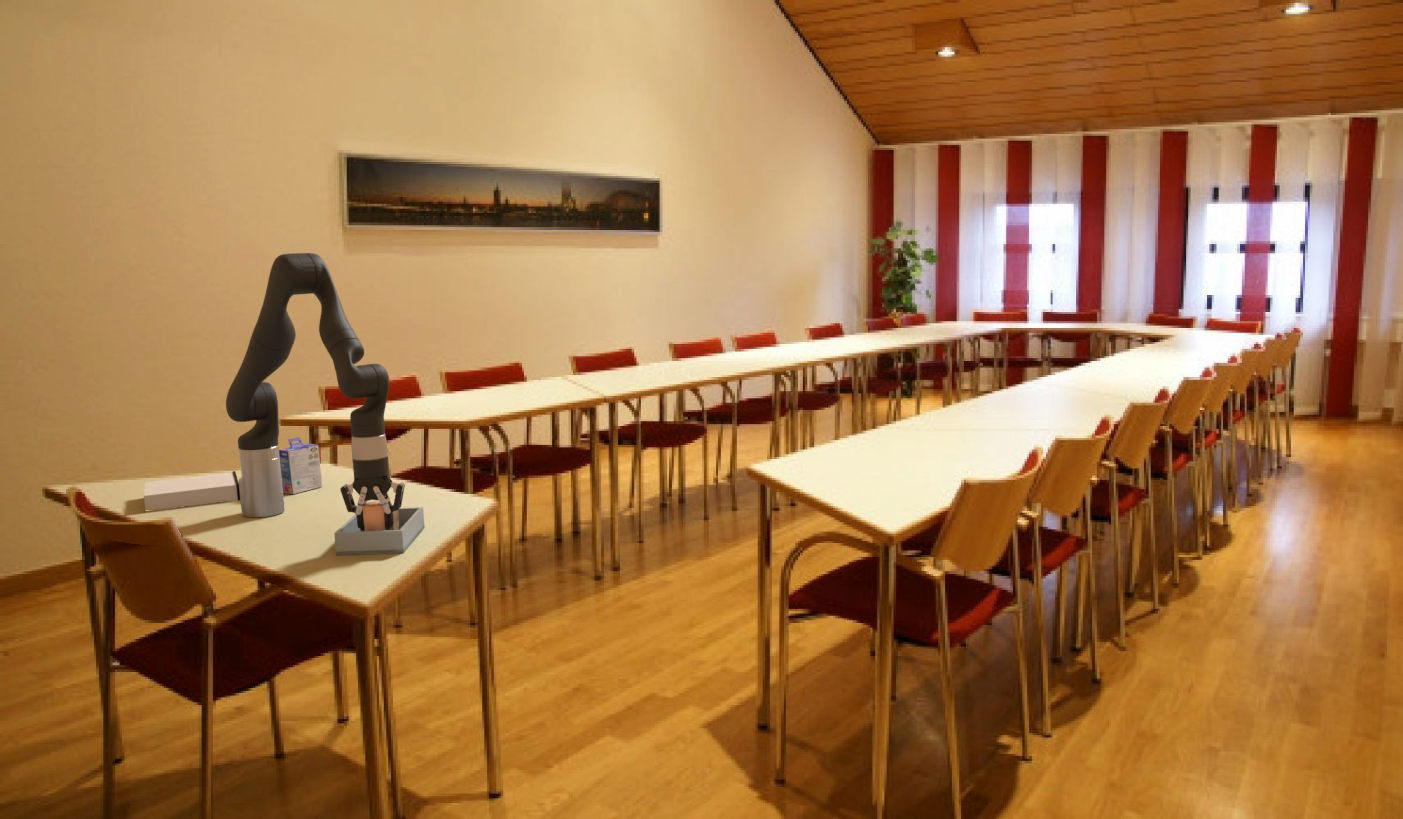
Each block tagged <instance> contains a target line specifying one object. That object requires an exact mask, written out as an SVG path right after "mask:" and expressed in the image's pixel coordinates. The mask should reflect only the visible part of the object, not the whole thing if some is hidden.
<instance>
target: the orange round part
mask: <svg viewBox="0 0 1403 819" xmlns="http://www.w3.org/2000/svg"><path fill="white" fill-rule="evenodd" d="M362 507H363V508H362V510H363V522H364V531H384V530H386V527H385V515H384V514H386V512H385V510H384V508H383V506H382V505H381V504H380V501H379V500H373V501H367V503H366V504H364V505H363V506H362Z"/></svg>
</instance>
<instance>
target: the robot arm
mask: <svg viewBox="0 0 1403 819" xmlns="http://www.w3.org/2000/svg"><path fill="white" fill-rule="evenodd" d="M330 272H331V271H330V270H329V268H328V265H327V264H326V262H325V260H324V259H323V258H322V257H321V255H319V254H317V253H312V252H298V253H283V254H280V255H278V256H277V257H276V258H275V259H274V260H273V263H272V265H271V269H270V272H269V276H268V280H267V285H266V290H265V294H264V299H263V301H262V302H263V303H262V306H261V308H260V312H259V314H258V318H257V321H256V323H255V326H254V327H253V331H252V334H251V336H250V340H249V342H248V345H247V349H246V352H245V354H244V357H243V360H242V363H241V364H240V367H239V369H238V371H237V374H236V375H235V377H234V379H233V380H232V383H231V385H230V386H229V388H228V391H227V394H226V398H225V409H226V413H227V415H228V417H229V418H230V419H231V421H234V422H238V423H246V422H253V421H254V422H255V424H254V425H253V427H252V428H251V429H249V430H247V431H246V432H245V433H242V434H241V435H240V436H239V437H238V438H237V448H238V454H239V467H240V474H241V478H239V479H238V483H239V491H240V500H239V501H240V509H241V516H242V517H249V518H267V517H272V516H277V515H280V514H282V513H284V512H285V500H284V493H283V487H282V477H281V467H280V456H279V450H280V448H279V447H280V446H279V435H280V423H279V402H278V396H277V391H276V389H275V388H274V386H273V385H272V384H271V383H269V382H266V381H265V380H266V379H267V378H268V377H270V376H271V375H272V374H273V373H275V372H276V371H277V370H278V369H279V368H280V367H281V366H283V364H284V363H286V361H287V359H289V355H290V354H291V351H292V349H293V346H294V344H295V341H296V338H297V337H296V336H297V335H296V330H295V325H294V322H293V321H292V319H291V317H290V315H289V314H288V310H287V308H288V304H289V301H290V299H291V298H292V297H293V296H297V295H310V294H313V295H314V296H315V298H317V299H318V301H319V303H320V307H321V309H320V311H321V312H320V318H319V324H318V332H319V336H320V339H321V342H322V344H323V346H324V347H325V349H326V351H327V352H328V355H329V357H330V358H331V359H332V363H333V366H334V370H335V374H336V380H337V381H336V382H337V385H338V388H339V391H340V392H341V393H342V394H343V395H344V396H345V397H346V398H349V399H351V400H356V399H357V400H358V399H362V398H366V399H365V401H364V404H363V405H362V406H360V407H358V408H355V409H354V410H352V411H351V412H350V430H351V446H350V447H351V448H350V449H351V457H352V458H351V459H352V470H353V471H352V472H353V482H352V483H351V484H346V483H345V484H344V485H342V486H341V487H340V489H339V490H340V493H341V496H342V500H343V501H344V504H345V507H346V510H347V512H348V513H354V515H355V514H356V515H357V526H358V528H360V530H361V531H364V522H363V510H362V508H363V507H362V506H363V505H364V504H366V503H368V502H370V501H380V504H381V505H382V506H383V508H384V510H385V512H386V514H384V515H385V527H386V530H390V529H391V527H392V526H393V524H394V520H393V512H394V511H397V510H398V509H399V508H402V503H403V498H404V492H405V486H406V484H405V483H404V482H399V483H398V482H393V480H392V478H391V476H390V464H389V463H390V462H389V448H388V442H387V437H386V428H385V412H386V407H387V406H386V404H387V400H388V395H389V390H390V377H389V373H388V371H387V369H386V368H385V367H384V366H383V365H381V364H379V363H369V364H361V365H355V364H357V363H359V362H360V361H361V360H362V359H363V358H364V356H365V349H364V347H363V343H362V342H361V341H360V338H359V337H358V336H357V333H355V330H354V329H353V327H352V325H351V323H350V321H349V320H348V317H347V316H346V313H345V311H344V308H343V305H342V302H341V300H340V296H339V294H338V291H337V289H336V286H335V282H334V280H333V278H332V276H331V273H330ZM390 489H393V490H392V492H393V493H395V496H394V499H393V500H394V501H393V504H392V502H391V498H390V495H389V490H390ZM354 491H355V492H356V493H357V494H358V496H359V497H358V499H357V500H358V501H357V505H356V503H355V500H354V497H353V493H354Z"/></svg>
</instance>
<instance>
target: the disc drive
mask: <svg viewBox="0 0 1403 819" xmlns="http://www.w3.org/2000/svg"><path fill="white" fill-rule="evenodd" d="M143 500H144V502H143V503H144V509H145V510H156V511H163V509H164V510H171V509H170V508H172V509H176V508H175V507H180V508H183V507H182V506H188V507H193V506H195V505H196V506H204V505H209V504H208V503H212V504H216V503H215V502H220V503H222V502H221V501H228V502H235V501H241V500H240V491H239V479H238V476H237V472H236V470H234V471H233V470H232V472H225V473H224V472H223V473H215V474H214V473H213V474H206V475H198V476H189V477H180V478H171V479H169V478H168V479H162V480H153V481H145V482H144V491H143ZM203 504H204V505H203Z"/></svg>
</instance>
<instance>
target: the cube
mask: <svg viewBox="0 0 1403 819" xmlns="http://www.w3.org/2000/svg"><path fill="white" fill-rule="evenodd" d="M393 520H394V524H393V526H392V527H391V529H390V530H399V529H400V527H399V514H398V510H397V511H394V512H393Z"/></svg>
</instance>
